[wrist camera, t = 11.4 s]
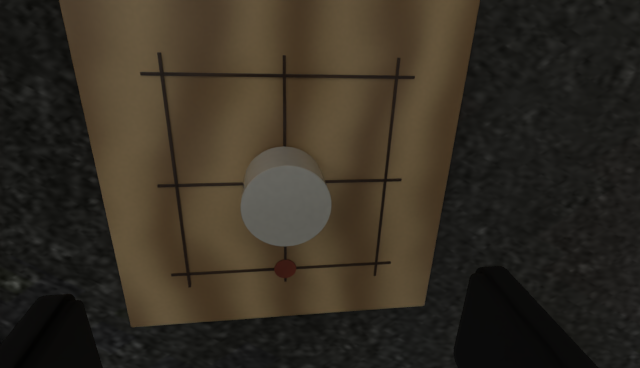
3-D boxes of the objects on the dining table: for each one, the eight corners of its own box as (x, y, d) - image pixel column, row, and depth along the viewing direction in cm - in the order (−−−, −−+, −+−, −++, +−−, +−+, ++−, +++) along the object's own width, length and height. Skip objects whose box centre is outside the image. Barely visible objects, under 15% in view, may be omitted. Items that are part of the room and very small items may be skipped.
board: (469, -2, 20) (482, -3, 19) (418, 294, 28) (425, 307, 27) (66, -21, 18) (52, -23, 16) (136, 314, 26) (130, 329, 24)
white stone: (324, 145, 21) (333, 164, 18) (321, 217, 23) (329, 244, 20) (241, 146, 21) (237, 166, 18) (245, 221, 22) (242, 249, 20)
